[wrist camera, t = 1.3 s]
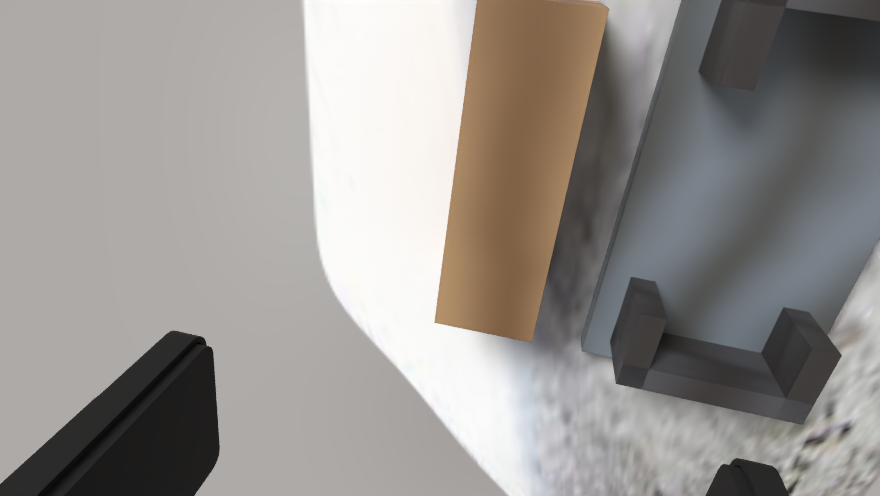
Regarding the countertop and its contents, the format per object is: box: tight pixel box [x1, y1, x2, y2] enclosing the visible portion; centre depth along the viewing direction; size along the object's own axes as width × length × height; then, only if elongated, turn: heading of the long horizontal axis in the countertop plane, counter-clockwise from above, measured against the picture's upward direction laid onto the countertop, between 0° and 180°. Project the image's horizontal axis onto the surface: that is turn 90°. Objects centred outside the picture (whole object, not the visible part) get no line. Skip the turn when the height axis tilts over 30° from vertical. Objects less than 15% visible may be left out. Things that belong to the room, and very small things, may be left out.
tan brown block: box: [435, 0, 609, 343], centre depth 25 cm, size 4×14×6 cm, turn 173°
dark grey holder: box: [581, 0, 880, 425], centre depth 24 cm, size 11×20×5 cm, turn 172°
